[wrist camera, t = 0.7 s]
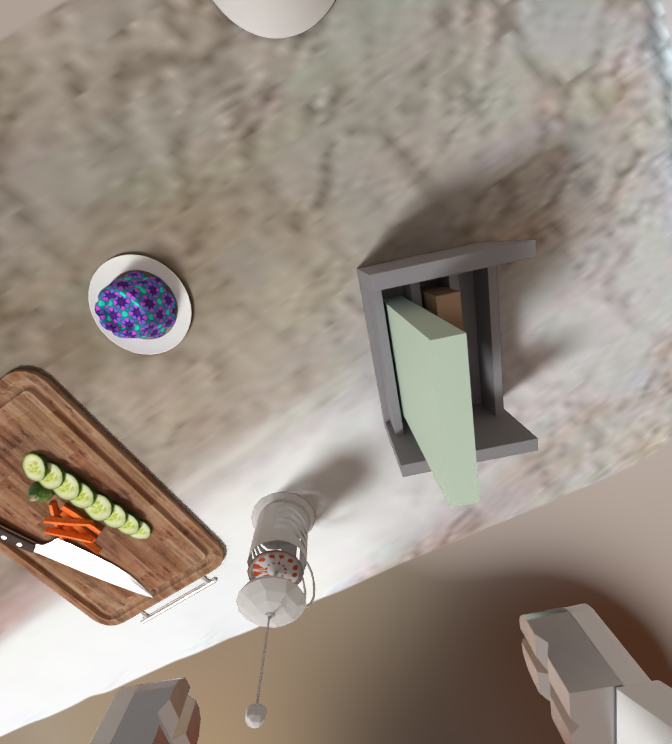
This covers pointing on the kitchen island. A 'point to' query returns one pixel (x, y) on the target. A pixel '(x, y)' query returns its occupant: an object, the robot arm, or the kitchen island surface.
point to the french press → (276, 571)
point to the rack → (482, 327)
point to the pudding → (139, 304)
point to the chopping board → (90, 510)
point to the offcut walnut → (443, 303)
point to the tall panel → (435, 394)
